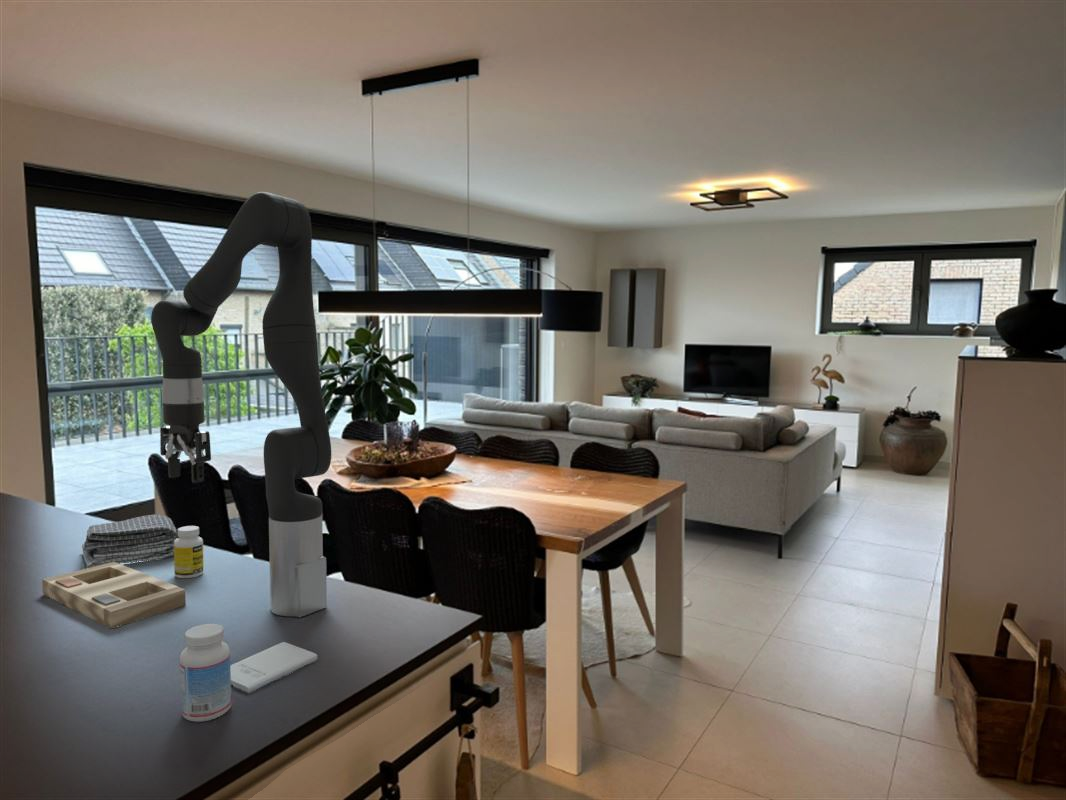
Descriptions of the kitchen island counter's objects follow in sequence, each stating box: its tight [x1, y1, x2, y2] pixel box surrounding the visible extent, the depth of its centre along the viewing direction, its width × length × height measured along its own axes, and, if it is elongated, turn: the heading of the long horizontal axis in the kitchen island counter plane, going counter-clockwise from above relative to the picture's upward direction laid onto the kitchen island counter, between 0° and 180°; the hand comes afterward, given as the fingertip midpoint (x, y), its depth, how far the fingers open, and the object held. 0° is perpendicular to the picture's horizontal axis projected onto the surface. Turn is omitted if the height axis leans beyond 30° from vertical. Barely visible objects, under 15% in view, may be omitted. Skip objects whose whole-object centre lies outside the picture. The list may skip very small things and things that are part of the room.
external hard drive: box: [230, 641, 318, 691], centre depth 108 cm, size 2×8×12 cm
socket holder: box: [41, 562, 187, 629], centre depth 134 cm, size 26×13×3 cm, turn 56°
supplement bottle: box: [173, 525, 204, 579], centre depth 148 cm, size 5×5×10 cm
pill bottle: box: [179, 623, 233, 723], centre depth 96 cm, size 6×6×11 cm
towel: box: [81, 513, 178, 569], centre depth 160 cm, size 15×18×8 cm
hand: (186, 479), depth 146 cm, fingers open, 8 cm apart
